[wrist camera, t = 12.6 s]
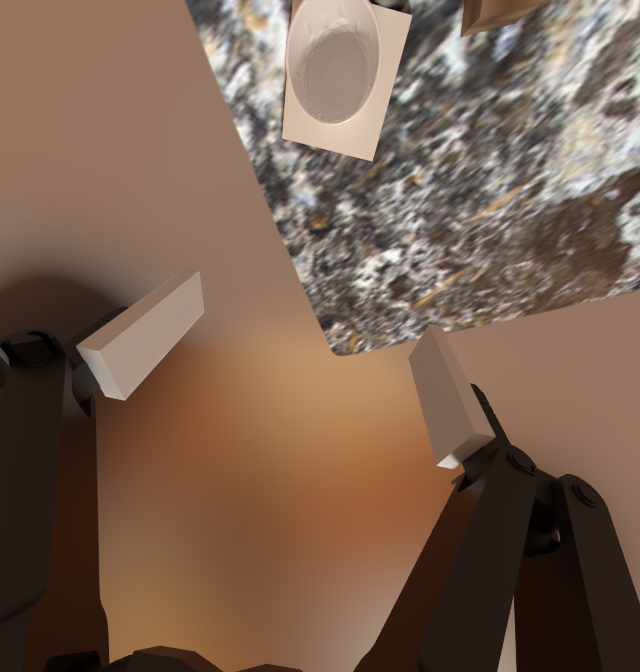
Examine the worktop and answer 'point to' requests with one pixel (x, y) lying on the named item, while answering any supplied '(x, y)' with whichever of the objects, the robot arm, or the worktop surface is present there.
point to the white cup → (333, 58)
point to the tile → (367, 125)
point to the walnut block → (493, 14)
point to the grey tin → (389, 3)
